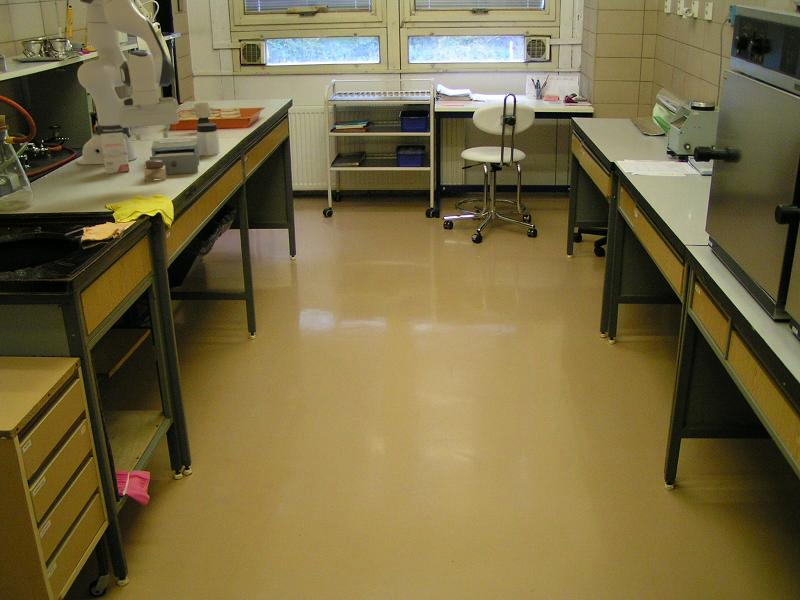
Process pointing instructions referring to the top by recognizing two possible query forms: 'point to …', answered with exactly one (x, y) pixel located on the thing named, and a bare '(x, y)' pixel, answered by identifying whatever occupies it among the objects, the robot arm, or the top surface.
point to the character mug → (202, 112)
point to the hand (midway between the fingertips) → (152, 138)
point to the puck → (154, 164)
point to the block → (155, 173)
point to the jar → (208, 139)
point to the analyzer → (175, 147)
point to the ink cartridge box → (114, 153)
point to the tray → (178, 162)
